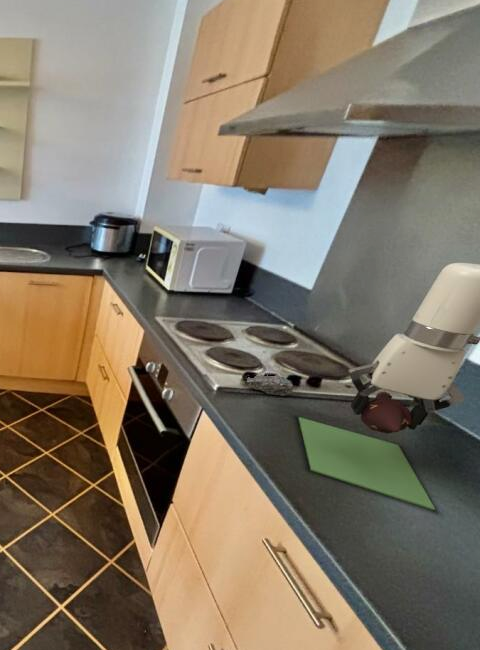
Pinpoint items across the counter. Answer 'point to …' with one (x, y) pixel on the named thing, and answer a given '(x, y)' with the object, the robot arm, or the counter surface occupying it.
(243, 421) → the counter surface
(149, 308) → the counter surface
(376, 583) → the counter surface
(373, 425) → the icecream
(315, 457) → the cloth
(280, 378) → the rock
